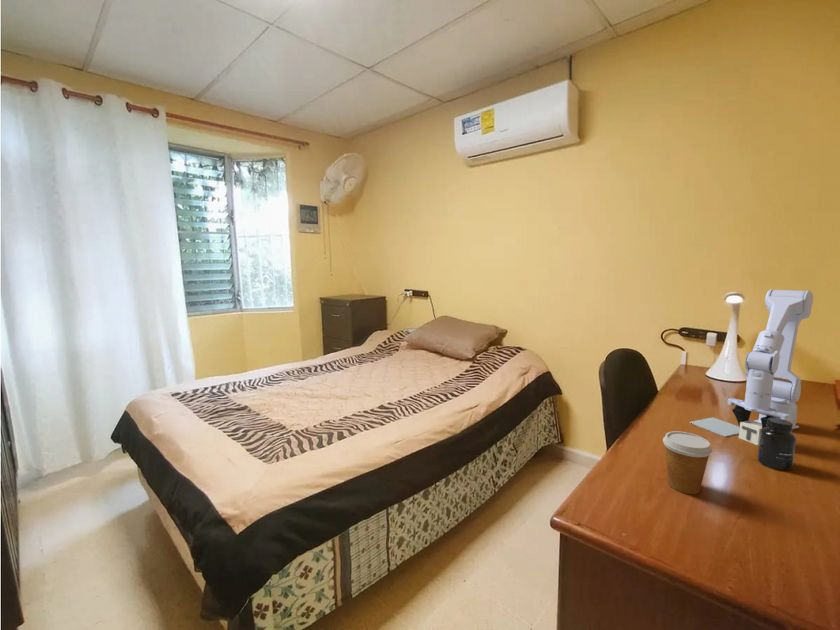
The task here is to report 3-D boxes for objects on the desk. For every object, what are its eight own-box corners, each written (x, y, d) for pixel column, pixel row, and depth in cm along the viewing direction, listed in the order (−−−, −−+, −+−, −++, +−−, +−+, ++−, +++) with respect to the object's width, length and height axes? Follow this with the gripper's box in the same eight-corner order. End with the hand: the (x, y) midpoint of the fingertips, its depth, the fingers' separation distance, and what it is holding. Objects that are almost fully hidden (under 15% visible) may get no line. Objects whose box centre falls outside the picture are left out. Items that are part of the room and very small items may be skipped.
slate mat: (712, 418, 128) (712, 417, 128) (749, 431, 118) (749, 430, 118) (689, 422, 125) (689, 422, 125) (725, 437, 114) (725, 436, 114)
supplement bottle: (785, 474, 94) (791, 428, 92) (752, 461, 100) (756, 419, 98) (797, 467, 97) (802, 423, 96) (764, 455, 103) (768, 413, 102)
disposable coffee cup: (710, 503, 83) (715, 453, 82) (660, 490, 88) (663, 442, 87) (705, 482, 91) (710, 435, 90) (659, 471, 96) (662, 427, 95)
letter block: (749, 435, 115) (751, 419, 114) (768, 442, 110) (770, 426, 110) (738, 438, 113) (739, 422, 113) (757, 445, 109) (759, 429, 108)
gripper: (722, 386, 115) (718, 427, 117) (779, 402, 102) (774, 449, 104) (738, 383, 118) (734, 424, 120) (796, 398, 104) (790, 444, 106)
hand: (754, 435), depth 112 cm, fingers closed on letter block, 5 cm apart
